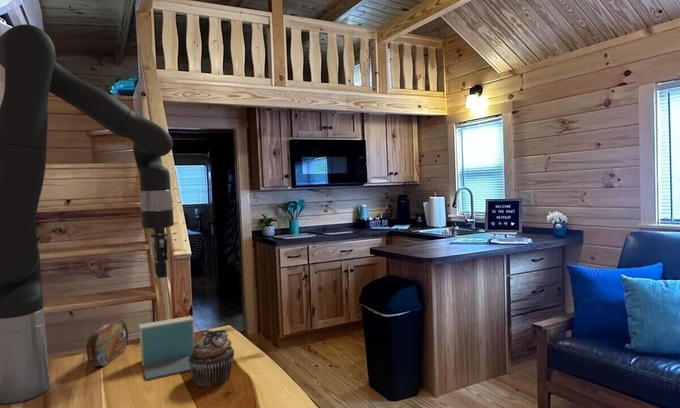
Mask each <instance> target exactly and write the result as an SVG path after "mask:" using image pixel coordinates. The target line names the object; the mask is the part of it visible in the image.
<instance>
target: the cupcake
mask: <svg viewBox="0 0 680 408" xmlns="http://www.w3.org/2000/svg"><path fill="white" fill-rule="evenodd" d="M228 336H229V334H228V333H227V331H226V330H225V329H224V330H223V329H222V330H209V329H207V330H206V331H204V332H203V333H202V334H201V338H200V340H198V341H197V342H196V343H195V346H194V348H193V351H192V354H191V356H189V359H188V363H189V366H190V369H191V371H190V373H191V376H192V380H193V384H195V385H197V386H199V387H211V386H212V387H214V386H218V385H220V384H223V383H225V382H227V381H228V380H230V377H231V373H232V367H233V362H234V357H235V350H234V349H233V348H234V347H232V341H231V340H230V339H229V338H228Z"/></svg>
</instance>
